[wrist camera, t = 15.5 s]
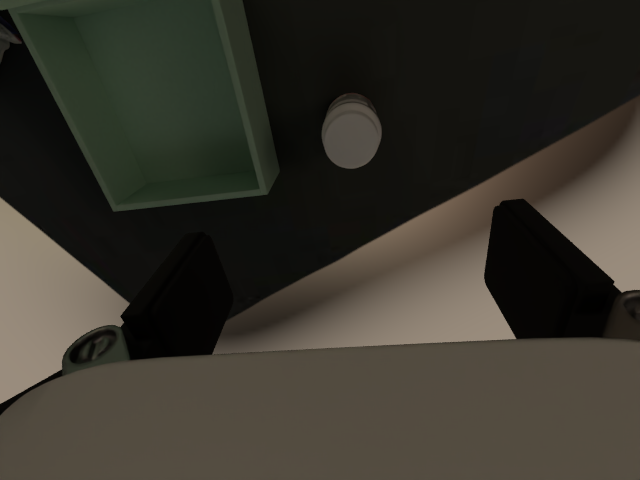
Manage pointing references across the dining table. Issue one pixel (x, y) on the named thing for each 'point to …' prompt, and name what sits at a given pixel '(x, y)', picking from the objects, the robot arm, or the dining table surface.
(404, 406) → the robot arm
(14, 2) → the lunchbox lid
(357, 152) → the pill bottle
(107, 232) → the dining table surface
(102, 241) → the dining table surface
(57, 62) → the box
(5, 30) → the packaged food
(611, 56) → the dining table surface
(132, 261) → the dining table surface
